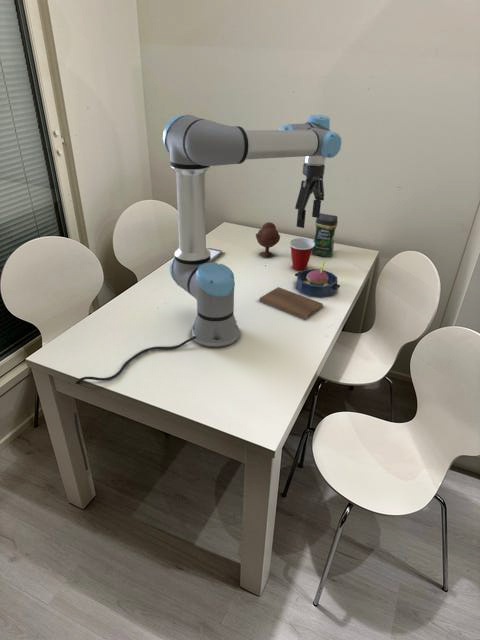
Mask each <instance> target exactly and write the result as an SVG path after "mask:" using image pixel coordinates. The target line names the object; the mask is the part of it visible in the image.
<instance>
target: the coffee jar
mask: <svg viewBox="0 0 480 640" xmlns="http://www.w3.org/2000/svg"><path fill="white" fill-rule="evenodd" d="M314 223H315V235H314V239H313V242H315V246H314V247H313V249H312V252H311V254H313V255H314V256H315V255H316V256H319V257H324V258H329V257H331V256H332V255H334V249H335V248H334V247H335V246H334V245H335V232H336V229H337V227H338V216H337V215H335V214H334V215H333V214H326V213H321V212H320V215H319V218H315V221H314Z"/></svg>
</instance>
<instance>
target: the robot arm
mask: <svg viewBox="0 0 480 640" xmlns="http://www.w3.org/2000/svg"><path fill="white" fill-rule="evenodd" d="M330 123H331V119H330V117H329V116H327V115H324V114H311V115H309V116H308V117H307V119H306V122H304V123H292V124H291V123H287V124H284V125H281V126H280V127H279V128H278V129H251V130H249V129H248V130H247V129H245V128H244V127H243V126H241V125H240V126H239V125H235V126H233V125H228V124H222V123H219V122H216V121H213V120H211V119H206V118H201V117H198V116H196V115H193V114H178V115H175V116H174V117H172V118H170V119H169V120H168V122H167V123H166V125H165V126H164V128H163V131H162V142H163V146H164V148H165V150H166V151H167V152H168V153H169V163H170V168H171V169H172V170H173V171H174V172H175V177H176V178H175V179H176V200H177V201H176V202H177V205H176V206H177V222H178V223H177V225H178V248H177V249H176V250H175V251H174V256H173V259H172V260H171V261H170V265H169V273H170V277H171V278H172V280H173V281H174V282H175V284H176V285H177V286H178V287H180V288H181V289H183V290H184V291H185V292H187V294H189V295H190V296H192V297H193V298H194V299H195V301H196V311H197V312H196V316H195V320H194V323H193V326H192V328H191V336H192V337H190V338H188V339H186V340H184V341H183V342H180V343H179V344H177V345H174V346H173V345H172V346H152V347H148V348H145V349H142V350H140V351H139V352H137V353H135V354H134V355H132V357H129V359H127V360H126V361H125V362H124V363H123V364H122V366H121V367H120V368H119V370H118V371H117V372H116V373H115V374H113V375H111V376H108V377H97V376H83V377H80V378H79V379H78V380H76V382H74V383H75V385H78V384H80V382H82V381H85V380H92V381H100V382H102V381H104V382H107V381H111V380H113V379H115V378H116V377H118V376H119V375H120V374H122V372H123V370H124V369H125V367H126V366H127V365H129V363H130V362H132V361H133V360H135V359H136V358H137V357H139V356H140V355H142V354H145V353H147V352H150V351H154V350H174V349H178V348H179V349H180V348H181V347H183V346H184V345H186V344H187V343H190V342H191V341H194V342H196V343H197V344H199V345H201V346H204V347H207V348H223V347H227V346H230V345H232V344H234V343H235V342H236V341H237V340H238V339H239V333H240V329H239V326H238V321H237V319H236V317H235V314H234V312H235V310H234V308H235V286H236V283H235V275H234V272H233V270H232V269H231V268H230V267H228V266H227V265H225V264H224V263H218V262H211V253H210V250H208V247H207V226H206V225H207V221H206V219H207V215H206V211H207V210H206V209H207V208H206V173H207V171H208V170H209V169H210V168H211V167H218V166H219V167H220V166H229V165H242V164H243V163H245V162H246V160H264V159H280V158H283V159H285V158H300V157H303V162H304V163H303V165H302V175H303V176H305V180H304V179H303V180H301V183H300V189H299V191H298V192H299V193H298V196H297V200H296V203H295V206H294V209H295V210H297V216H296V217H297V218H296V227H297V228H301V229H304V228H305V222H306V213H307V209H306V208H307V204H308V202H309V199H310V197H311V195H312V194H313V196H314V199H313V204H312V212H311V213H312V214H311V217H312V218H315V219H317V218H319V215H320V213H321V206H322V201H324V200H325V188H324V187H325V186H324V175H325V169H326V165H325V163H326V159H332V158H334V157H336V156H337V155H338V154H339V153H340V151H341V148H342V147H341V146H342V138H341V136H340V134H339V133H338V132H336V131H332V130H330V127H331V124H330ZM73 419H74V425H75V431H76V434H77V439H78V443H79V448H80V450H81V454H82V459H83V463H84V464H83V465H84V468H85V471H89V468H88V462H87V456H86V453H85V449H84V444H83V441H82V437H81V432H80V428H79V421H78V414H77V413H76V412H73Z"/></svg>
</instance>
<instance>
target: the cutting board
mask: <svg viewBox="0 0 480 640" xmlns="http://www.w3.org/2000/svg"><path fill="white" fill-rule="evenodd" d="M259 303H263V304H265V305H267V306H270V307H272V308H275V309H278V310H280V311H282V312H285V313H287V314H290V315H292V316H294V317H297V318H300V319H303V320H307V319H308V318H310V317H311V316H312V315H313V314H315V313H317V312H318V311H319V310H321V309H322V308H323V306H324V303H322V302H320V301H316V300H315V299H312V298H309V297H306V296H304V295H301V294H298V293H295V292H293V291H291V290H288V289H285V288H282V287H280V286H277V287H276V288H274V289H273V290H271V291H269V292H268V293H265V294H263V295H262V296H260V297H259Z"/></svg>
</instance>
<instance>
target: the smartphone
mask: <svg viewBox="0 0 480 640" xmlns="http://www.w3.org/2000/svg"><path fill="white" fill-rule="evenodd" d="M207 249H208V250H210V253H211V263H213V261H215V260H216V259H217V258H218V257H219V256H221V255H222V254H223V250H221V249H216V248H212V247H207Z"/></svg>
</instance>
